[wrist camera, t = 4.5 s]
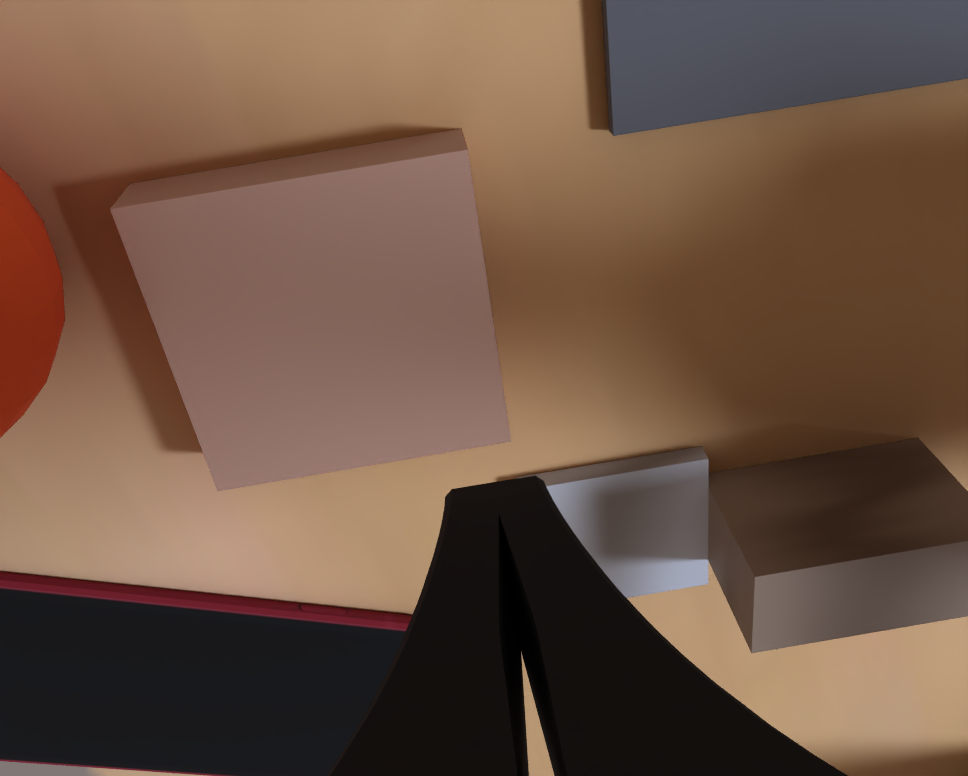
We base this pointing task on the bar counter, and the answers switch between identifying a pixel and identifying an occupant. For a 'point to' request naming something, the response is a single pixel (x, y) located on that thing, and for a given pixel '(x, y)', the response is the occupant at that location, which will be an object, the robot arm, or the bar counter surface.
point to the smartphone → (183, 678)
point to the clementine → (25, 303)
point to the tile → (322, 307)
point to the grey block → (782, 536)
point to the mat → (770, 54)
